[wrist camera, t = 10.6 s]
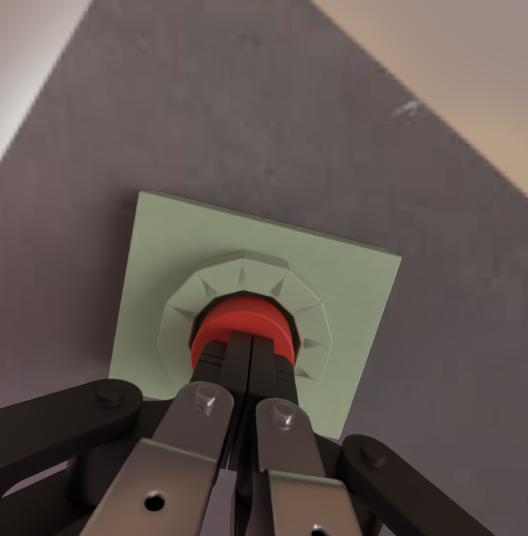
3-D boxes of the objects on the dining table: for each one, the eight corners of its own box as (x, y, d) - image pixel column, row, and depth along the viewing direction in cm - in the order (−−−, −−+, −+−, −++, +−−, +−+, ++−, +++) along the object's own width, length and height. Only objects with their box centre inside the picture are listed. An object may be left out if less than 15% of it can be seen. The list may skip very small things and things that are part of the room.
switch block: (125, 364, 18) (85, 413, 14) (155, 190, 16) (119, 190, 12) (330, 411, 18) (348, 471, 14) (385, 248, 16) (422, 266, 12)
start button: (191, 368, 14) (181, 393, 12) (210, 285, 13) (202, 299, 11) (278, 388, 14) (279, 416, 12) (301, 307, 13) (306, 324, 12)
